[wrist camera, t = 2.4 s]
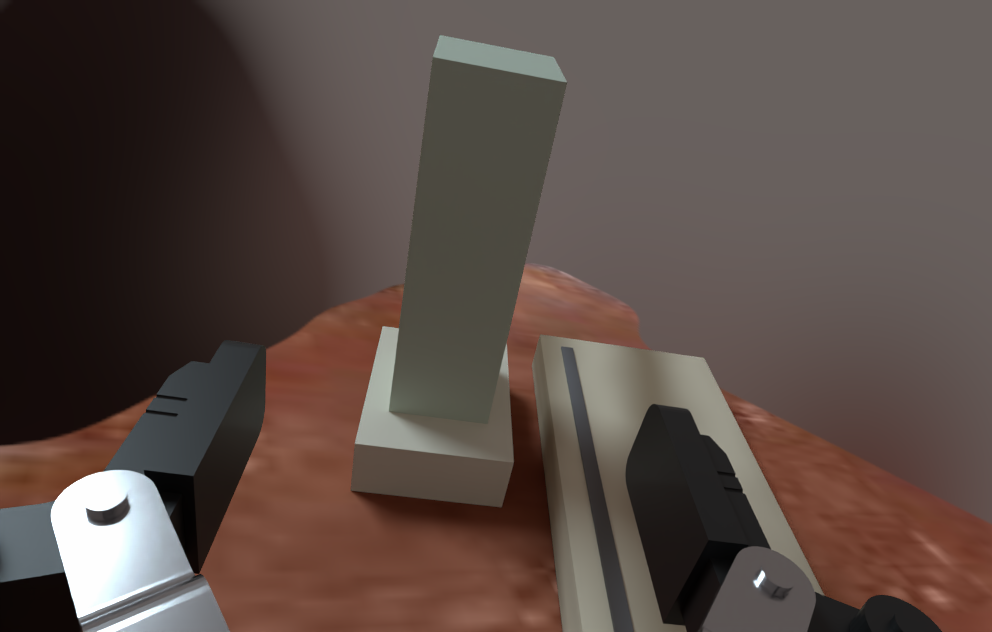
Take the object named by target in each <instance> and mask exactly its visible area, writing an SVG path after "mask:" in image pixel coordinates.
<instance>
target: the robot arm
mask: <svg viewBox="0 0 992 632" xmlns="http://www.w3.org/2000/svg"><path fill="white" fill-rule="evenodd" d="M265 385H266V349H265V346H262V345H256V344H249V343H242V342H236V341H229V340H225V341H224V342H223V343H222V344H221V346H220V347H219V349H218V350H217V352H216V354H215V355H214V357H213V359H212V360H211V362H210V363H209V364H207V363H201V362H193V361H191V362H190V363H189V364H187V365H185V366H184V367H182V368H181V369H179V370H178V371H176V372H175V373H173V374H171V375H170V376H169V377H168V379H167V380H166V382H165V383H164V385H163V386H162V388H161V389H160V390H159V392H158V393H157V397H156V398H154V399H153V400H152V402H151V403H150V405H149V406H148V408H147V409H146V413H145V414H143V415H142V416H141V418H140V419H139V421H138V422H137V424H136V425H135V427H134V428H133V429H132V431H131V432H130V434H129V435H128V437H127V438H126V440H125V441H124V443H123V444H122V445H121V447H120V448H119V450H118V451H117V453H116V454H115V456H114V457H113V458H112V460H111V461H110V463H109V464H108V466H107V467H106V469H105V470H104V471H103V472H100V473H96V474H93V475H90V476H87V477H85V478H83V479H81V480H79V481H77V482H75V483H74V484H72V485H71V486H69V487H68V488H67V489H66V490H64V492H63V493H62V494H61V495H60V496H59V497H58V498H57V500H56V501H52V502H48V503H43V504H37V505H29V506H21V507H13V508H5V509H0V632H230V631H229V629H228V627H227V624H226V622H225V620H224V618H223V615H222V613H221V611H220V609H219V606H218V604H217V602H216V600H215V598H214V595H213V593H212V591H211V589H210V587H209V584H208V583H207V581H206V579H205V578H204V576H203V575H201V574H199V573H200V571H201V568H202V566H203V564H204V561H205V559H206V557H207V554H208V552H209V550H210V548H211V545H212V543H213V541H214V538H215V536H216V534H217V531H218V529H219V527H220V524H221V522H222V520H223V517H224V515H225V513H226V511H227V508H228V506H229V504H230V501H231V499H232V497H233V494H234V492H235V490H236V487H237V485H238V483H239V480H240V478H241V476H242V474H243V471H244V469H245V467H246V464H247V462H248V460H249V457H250V455H251V453H252V450H253V448H254V446H255V443H256V441H257V439H258V436H259V434H260V431H261V427H262V423H263V418H264V412H265ZM735 474H736V473H735V471H734V469H733V467H732V465H731V463H730V461H729V458H728V456H727V454H726V453H725V452H724V451H723V450H722V449H721V448H720V447H719V446H718V445H717V444H716V442H715V441H714V440H713V439H712V438H711V437H710V436H708V435H701V434H700V432H699V430H698V428H697V425H696V423H695V421H694V419H693V416H692V414H691V412H690V411H689V410H688V409H685V408H679V407H672V406H665V405H658V404H652V405H651V406H650V407H649V408H648V410H647V412H646V414H645V417H644V419H643V422H642V424H641V426H640V429H639V431H638V434H637V436H636V439H635V441H634V443H633V446H632V448H631V451H630V453H629V456H628V459H627V463H626V472H625V477H626V486H627V490H628V494H629V497H630V501H631V505H632V509H633V512H634V516H635V520H636V524H637V527H638V531H639V535H640V539H641V542H642V546H643V550H644V554H645V558H646V561H647V565H648V569H649V573H650V576H651V580H652V584H653V588H654V591H655V595H656V599H657V603H658V606H659V610H660V614H661V618H662V622H663V624H673V625H682V626H685V627H686V631H687V632H942V631H941V630H940V629H939V627H938V626H937V625H936V624H935V623H934V622H933V621H932V620H931V619H930V618H929V617H928V616H926V615H925V614H924V613H923V612H921V611H920V610H919V609H917V608H916V607H914V606H912V605H911V604H909V603H907V602H905V601H903V600H901V599H898V598H895V597H892V596H887V595H876V596H873V597H871V598H870V599H868V600H867V602H866V603H865V604H864V606H863V607H862V608H861V609H860V610H859V609H857V608H854V607H852V606H849V605H847V604H844V603H841V602H839V601H836V600H834V599H831V598H829V597H826V596H824V595H821V594H819V593H817V592H815V591H814V588H813V586H812V584H811V582H810V580H809V579H808V577H807V576H806V574H805V573H804V572H803V571H802V570H801V569H800V568H799V567H798V566H797V565H796V564H795V563H794V562H792V561H791V560H790V559H788V558H787V557H785V556H784V555H782V554H780V553H778V552H776V551H774V550H771V548H770V545H769V543H768V541H767V539H766V537H765V535H764V533H763V531H762V528H761V526H760V524H759V522H758V520H757V518H756V516H755V514H754V511H753V509H752V507H751V505H750V503H749V501H748V499H747V497H746V495H745V494H744V493H743V488H742V486H741V484H740V482H739V480H738V478H737V477H735ZM194 573H196V574H199V575H197V576H195V574H194Z"/></svg>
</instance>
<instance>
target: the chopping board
mask: <svg viewBox="0 0 992 632" xmlns="http://www.w3.org/2000/svg"><path fill="white" fill-rule="evenodd" d="M532 369H533V378H534V387H535V395H536V404H537V413H538V421H539V430H540V439H541V447H542V456H543V465H544V473H545V482H546V491H547V499H548V508H549V517H550V525H551V534H552V543H553V551H554V560H555V569H556V577H557V586H558V595H559V603H560V612H561V621H562V629H563V632H687V631H686V627H685V626H682V625H673V624H663V622H662V618H661V614H660V610H659V606H658V603H657V599H656V595H655V591H654V588H653V584H652V580H651V576H650V573H649V569H648V565H647V561H646V558H645V554H644V550H643V546H642V542H641V539H640V535H639V531H638V527H637V524H636V520H635V516H634V512H633V509H632V505H631V501H630V497H629V494H628V490H627V486H626V477H625V472H626V463H627V459H628V456H629V453H630V451H631V448H632V446H633V443H634V441H635V439H636V436H637V434H638V431H639V429H640V426H641V424H642V422H643V419H644V417H645V414H646V412H647V410H648V408H649V407H650V406H651V405H652V404H658V405H665V406H672V407H679V408H685V409H688V410H689V411H690V412H691V414H692V416H693V419H694V421H695V423H696V425H697V428H698V430H699V432H700V434H701V435H708V436H710V437H711V438H712V439H713V440H714V441H715V442H716V444H717V445H718V446H719V447H720V448H721V449H722V450H723V451H724V452H725V453H726V454H727V456H728V458H729V461H730V463H731V465H732V467H733V469H734V471H735V473H736V474H735V477H737V478H738V480H739V482H740V484H741V486H742V488H743V493H744V494H745V495H746V497H747V499H748V501H749V503H750V505H751V507H752V509H753V511H754V514H755V516H756V518H757V520H758V522H759V524H760V526H761V528H762V531H763V533H764V535H765V537H766V539H767V541H768V543H769V545H770V548H771V550H774V551H776V552H778V553H780V554H782V555H784V556H785V557H787V558H788V559H790V560H791V561H792V562H794V563H795V564H796V565H797V566H798V567H799V568H800V569H801V570H802V571H803V572H804V573H805V574H806V576H807V577H808V579H809V580H810V582H811V584H812V586H813V588H814V591H815V592H817V593H819V594H821V595H824V594H823V592H822V590H821V588H820V586H819V584H818V582H817V580H816V578H815V576H814V574H813V572H812V570H811V568H810V566H809V564H808V562H807V560H806V558H805V556H804V554H803V552H802V550H801V548H800V546H799V544H798V542H797V540H796V538H795V536H794V535H793V533H792V531H791V529H790V527H789V525H788V523H787V521H786V519H785V517H784V515H783V513H782V511H781V509H780V507H779V505H778V503H777V501H776V499H775V497H774V495H773V493H772V491H771V489H770V487H769V485H768V483H767V481H766V479H765V477H764V475H763V473H762V471H761V469H760V467H759V466H758V464H757V462H756V460H755V458H754V456H753V454H752V452H751V450H750V448H749V446H748V444H747V442H746V440H745V438H744V436H743V434H742V432H741V430H740V428H739V426H738V424H737V422H736V420H735V418H734V416H733V414H732V412H731V410H730V408H729V406H728V404H727V402H726V400H725V398H724V397H723V395H722V393H721V391H720V389H719V387H718V385H717V383H716V381H715V379H714V377H713V375H712V373H711V371H710V369H709V367H708V365H707V363H706V361H705V359H704V358H700V357H693V356H685V355H679V354H672V353H665V352H658V351H651V350H644V349H637V348H630V347H623V346H617V345H610V344H603V343H596V342H589V341H582V340H575V339H568V338H561V337H554V336H547V335H540V337H539V341H538V344H537V348H536V352H535V356H534V360H533V363H532Z"/></svg>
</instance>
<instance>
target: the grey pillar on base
mask: <svg viewBox="0 0 992 632" xmlns="http://www.w3.org/2000/svg"><path fill="white" fill-rule="evenodd" d="M566 85H567V81H566V80H565V78H564V76H563V74H562V72H561V70H560V68H559V66H558V64H557V62H556V60H555V58H554V57H550V56H544V55H539V54H534V53H529V52H524V51H519V50H513V49H508V48H503V47H498V46H493V45H488V44H482V43H478V42H472V41H467V40H462V39H457V38H452V37H447V36H442V35H440V37H439V40H438V43H437V46H436V49H435V52H434V55H433V60H432V68H431V76H430V84H429V92H428V100H427V109H426V116H425V124H424V132H423V140H422V148H421V156H420V164H419V172H418V181H417V188H416V196H415V204H414V212H413V220H412V228H411V236H410V245H409V252H408V260H407V268H406V276H405V284H404V292H403V300H402V308H401V316H400V324H399V328H392V327H385V326H383V328H382V332H381V336H380V340H379V344H378V349H377V353H376V357H375V361H374V365H373V370H372V374H371V378H370V382H369V386H368V391H367V395H366V399H365V403H364V407H363V412H362V416H361V420H360V424H359V428H358V433H357V437H356V441H355V448H354V459H353V470H352V481H351V491H359V492H368V493H377V494H386V495H395V496H404V497H413V498H422V499H431V500H439V501H448V502H457V503H466V504H475V505H484V506H493V507H502V504H503V501H504V497H505V493H506V490H507V486H508V482H509V479H510V475H511V471H512V468H513V464H514V456H513V440H512V424H511V407H510V391H509V375H508V358H507V344H506V343H507V338H508V334H509V330H510V325H511V321H512V317H513V313H514V308H515V304H516V300H517V295H518V291H519V287H520V283H521V278H522V274H523V270H524V265H525V261H526V257H527V253H528V248H529V244H530V240H531V235H532V231H533V226H534V223H535V218H536V214H537V210H538V205H539V201H540V197H541V192H542V188H543V184H544V179H545V175H546V171H547V166H548V162H549V158H550V154H551V150H552V145H553V141H554V137H555V132H556V128H557V124H558V120H559V115H560V111H561V107H562V102H563V98H564V94H565V89H566Z"/></svg>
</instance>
